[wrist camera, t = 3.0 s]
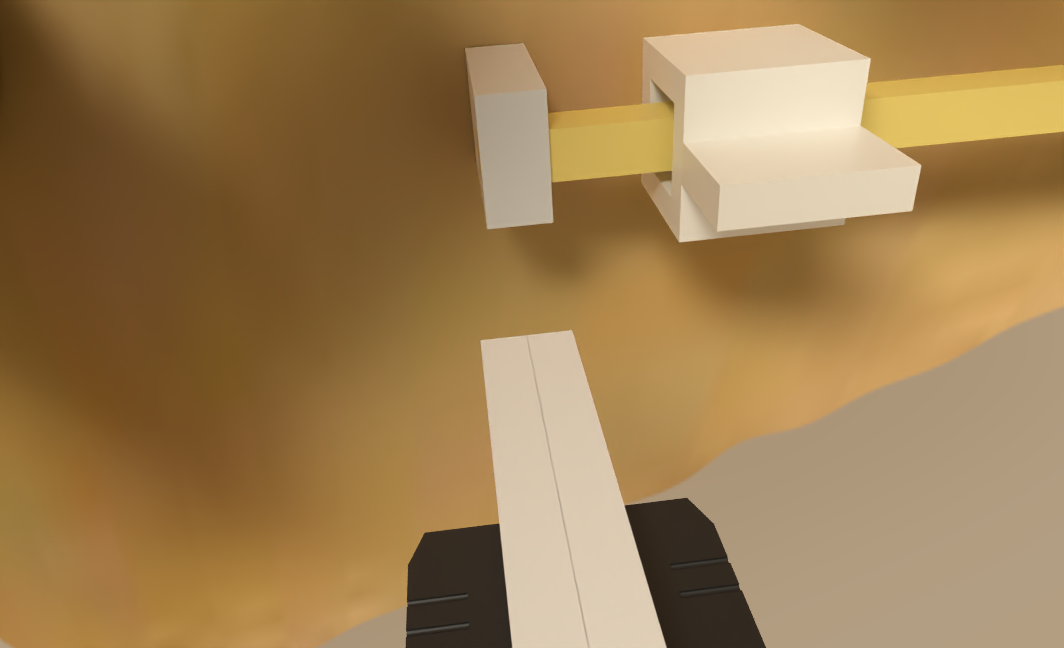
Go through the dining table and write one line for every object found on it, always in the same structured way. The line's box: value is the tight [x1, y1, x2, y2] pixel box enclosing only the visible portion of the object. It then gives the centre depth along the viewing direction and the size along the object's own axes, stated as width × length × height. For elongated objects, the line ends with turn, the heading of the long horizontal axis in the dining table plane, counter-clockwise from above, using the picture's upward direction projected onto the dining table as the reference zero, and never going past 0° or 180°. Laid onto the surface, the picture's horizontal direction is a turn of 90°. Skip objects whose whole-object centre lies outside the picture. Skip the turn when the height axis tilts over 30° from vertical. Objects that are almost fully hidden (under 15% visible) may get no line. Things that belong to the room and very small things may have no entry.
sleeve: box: [641, 24, 922, 242], centre depth 23 cm, size 5×5×8 cm
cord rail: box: [465, 43, 1064, 229], centre depth 26 cm, size 34×4×7 cm, turn 94°
